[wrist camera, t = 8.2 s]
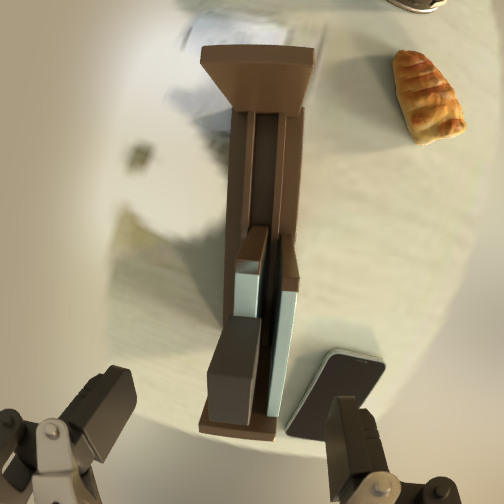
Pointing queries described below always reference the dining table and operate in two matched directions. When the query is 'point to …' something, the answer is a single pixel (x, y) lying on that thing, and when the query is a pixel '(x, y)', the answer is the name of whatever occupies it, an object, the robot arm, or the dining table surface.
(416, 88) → the pastry
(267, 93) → the window frame
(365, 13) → the dining table surface
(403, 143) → the dining table surface
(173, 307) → the dining table surface
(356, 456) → the robot arm
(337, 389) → the smartphone
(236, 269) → the sash
